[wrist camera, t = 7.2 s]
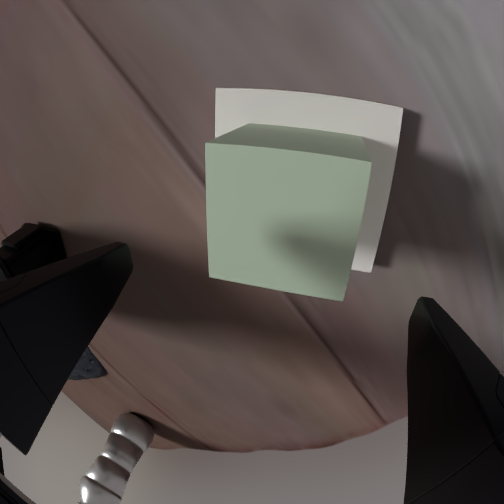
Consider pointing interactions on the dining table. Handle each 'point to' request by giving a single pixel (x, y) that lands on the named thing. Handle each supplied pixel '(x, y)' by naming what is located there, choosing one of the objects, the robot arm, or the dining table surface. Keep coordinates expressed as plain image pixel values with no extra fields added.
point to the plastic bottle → (116, 461)
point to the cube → (285, 207)
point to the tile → (334, 120)
